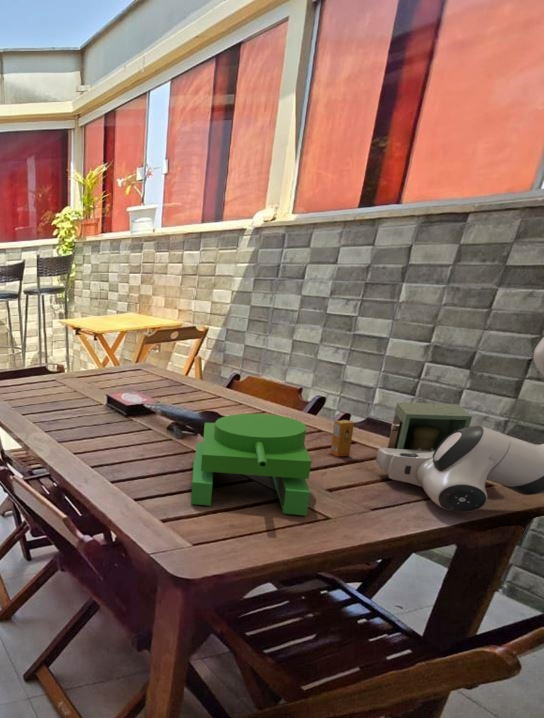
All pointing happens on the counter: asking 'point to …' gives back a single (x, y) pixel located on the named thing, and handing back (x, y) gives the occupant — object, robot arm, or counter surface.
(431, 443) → the cork
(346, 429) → the supplement box
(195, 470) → the tank
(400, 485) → the counter surface
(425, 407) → the oven box
